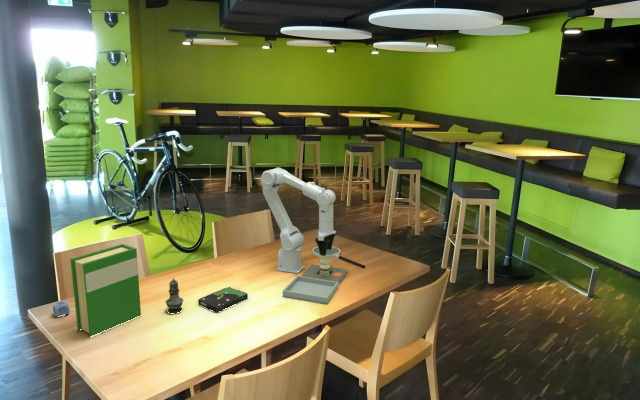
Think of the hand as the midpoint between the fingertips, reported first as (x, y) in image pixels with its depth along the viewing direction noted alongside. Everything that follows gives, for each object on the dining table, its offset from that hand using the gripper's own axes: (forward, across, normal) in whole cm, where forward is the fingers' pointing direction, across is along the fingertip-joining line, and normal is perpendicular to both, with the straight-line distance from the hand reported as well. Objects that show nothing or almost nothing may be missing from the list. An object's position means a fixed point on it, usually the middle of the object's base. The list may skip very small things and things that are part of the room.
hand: (325, 252), depth 194 cm
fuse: (+10, 0, 0) cm, 11 cm away
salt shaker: (+10, -48, +40) cm, 63 cm away
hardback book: (+10, -63, +54) cm, 83 cm away
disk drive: (+11, -36, +27) cm, 46 cm away
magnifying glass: (+11, +23, +1) cm, 25 cm away
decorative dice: (+9, -64, +72) cm, 97 cm away
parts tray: (+10, -17, 0) cm, 20 cm away
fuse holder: (+10, 0, 0) cm, 10 cm away
